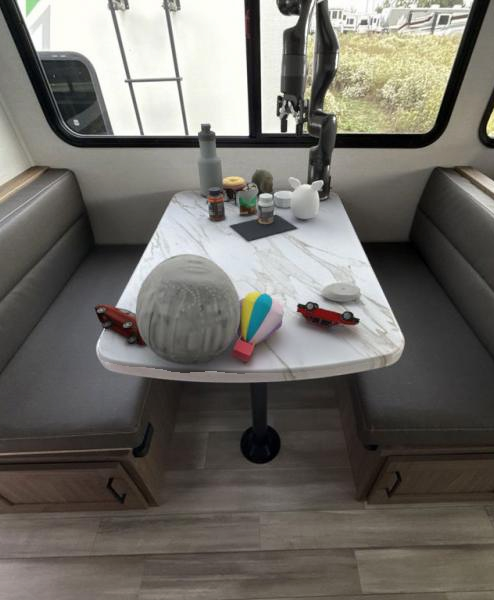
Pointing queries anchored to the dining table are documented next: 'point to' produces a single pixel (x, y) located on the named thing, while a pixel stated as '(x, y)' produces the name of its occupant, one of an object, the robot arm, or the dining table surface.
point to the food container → (248, 199)
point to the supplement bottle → (216, 204)
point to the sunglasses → (229, 195)
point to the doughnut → (233, 183)
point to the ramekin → (283, 199)
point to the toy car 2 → (325, 315)
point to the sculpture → (187, 309)
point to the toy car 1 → (120, 322)
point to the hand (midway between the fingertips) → (291, 134)
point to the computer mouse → (341, 292)
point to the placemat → (262, 228)
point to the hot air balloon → (256, 322)
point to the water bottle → (209, 161)
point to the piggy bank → (305, 198)
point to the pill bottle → (265, 209)
